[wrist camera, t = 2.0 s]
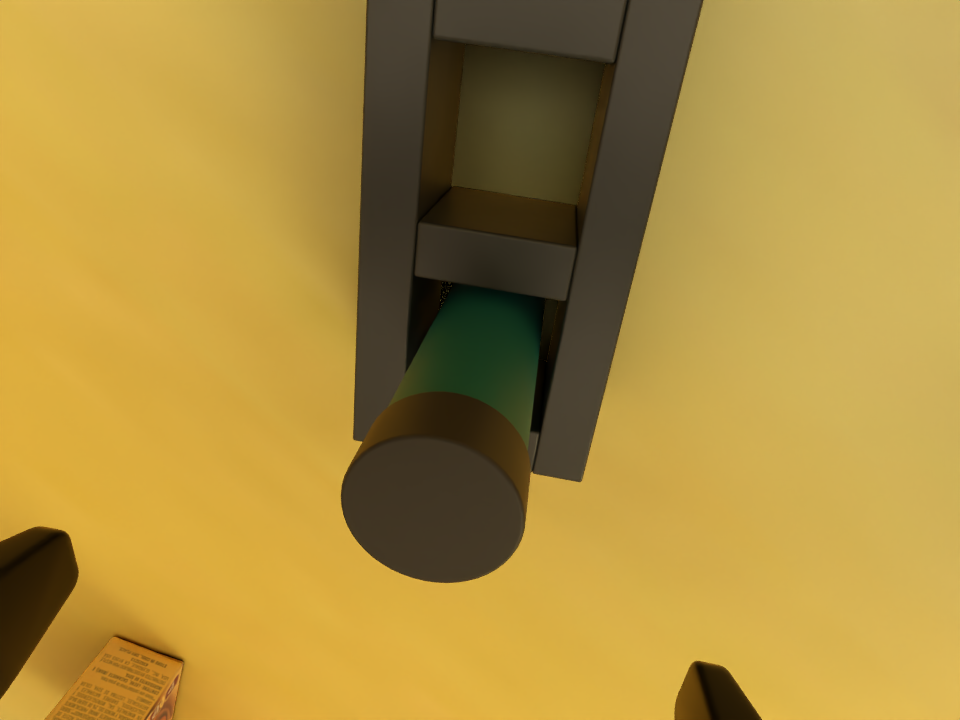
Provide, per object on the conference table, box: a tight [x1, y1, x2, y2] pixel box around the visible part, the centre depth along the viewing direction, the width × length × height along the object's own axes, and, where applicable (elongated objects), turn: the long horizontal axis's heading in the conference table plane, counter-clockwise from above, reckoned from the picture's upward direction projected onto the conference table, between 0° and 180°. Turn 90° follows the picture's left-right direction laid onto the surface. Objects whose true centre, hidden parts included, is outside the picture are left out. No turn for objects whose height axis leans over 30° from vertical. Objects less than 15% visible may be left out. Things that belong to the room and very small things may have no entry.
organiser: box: [353, 0, 703, 482], centre depth 15 cm, size 7×17×4 cm, turn 173°
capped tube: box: [341, 283, 545, 583], centre depth 15 cm, size 3×3×10 cm
